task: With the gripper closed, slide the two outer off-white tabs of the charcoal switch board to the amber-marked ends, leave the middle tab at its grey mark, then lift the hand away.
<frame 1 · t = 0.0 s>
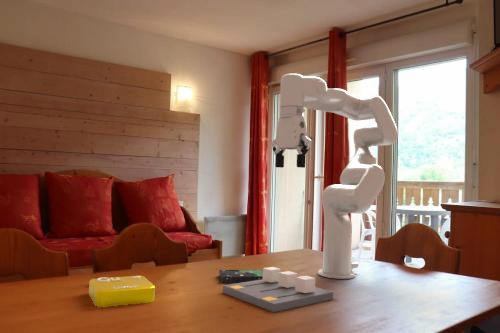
hand: (289, 167, 140), 37 cm above the table, tool pointing down, fingers open, 9 cm apart
disk drive: (242, 281, 144), on the table
tab b: (287, 279, 128), point 4 cm above the table, slide at 0.0 cm
tab a: (271, 274, 133), point 4 cm above the table, slide at 0.0 cm
tab c: (305, 284, 122), point 4 cm above the table, slide at 0.0 cm
switch board: (277, 295, 125), on the table
element tile: (121, 299, 118), on the table
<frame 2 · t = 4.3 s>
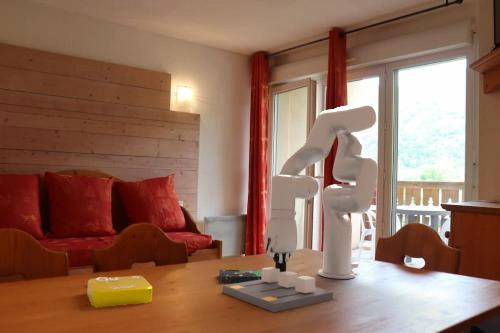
hand: (280, 275, 135), 4 cm above the table, tool pointing down, fingers closed
tab a: (270, 274, 133), point 4 cm above the table, slide at 0.5 cm, touching gripper
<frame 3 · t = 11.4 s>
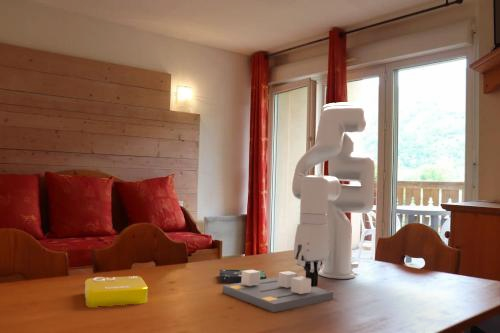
hand: (311, 285, 123), 4 cm above the table, tool pointing down, fingers closed
tab a: (250, 277, 128), point 4 cm above the table, slide at 8.1 cm
tab c: (301, 284, 121), point 4 cm above the table, slide at 1.7 cm, touching gripper
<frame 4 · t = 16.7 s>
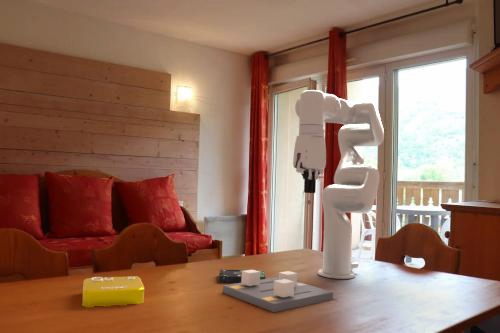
hand: (309, 192, 133), 29 cm above the table, tool pointing down, fingers closed
tab c: (283, 288, 117), point 4 cm above the table, slide at 8.1 cm
at the end: tab a slide at 8.1 cm; tab c slide at 8.1 cm; tab b slide at 0.0 cm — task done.
